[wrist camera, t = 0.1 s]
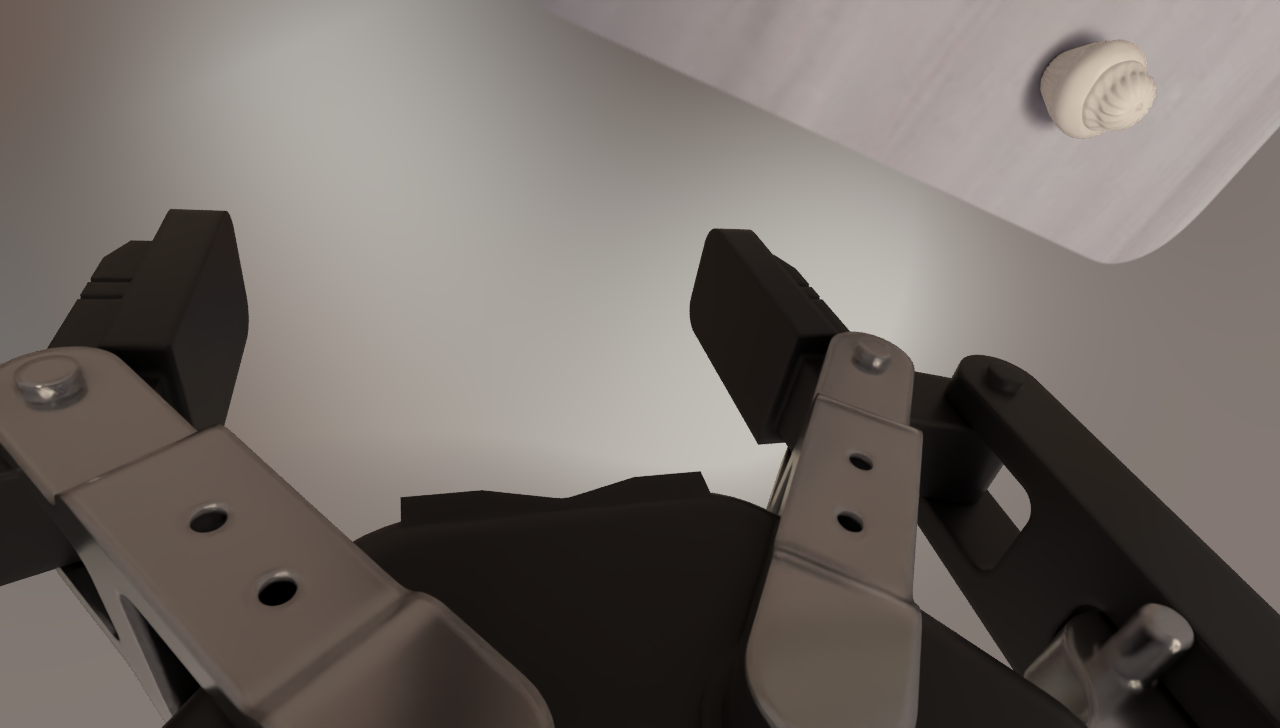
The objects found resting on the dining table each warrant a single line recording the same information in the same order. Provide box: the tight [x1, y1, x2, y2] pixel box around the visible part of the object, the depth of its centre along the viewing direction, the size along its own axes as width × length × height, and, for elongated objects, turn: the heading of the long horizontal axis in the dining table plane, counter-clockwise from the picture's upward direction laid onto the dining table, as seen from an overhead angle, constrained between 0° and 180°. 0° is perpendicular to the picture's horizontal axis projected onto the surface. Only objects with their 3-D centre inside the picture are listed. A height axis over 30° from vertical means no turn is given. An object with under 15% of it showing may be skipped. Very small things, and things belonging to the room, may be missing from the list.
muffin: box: [1040, 40, 1157, 139], centre depth 45 cm, size 6×6×7 cm
